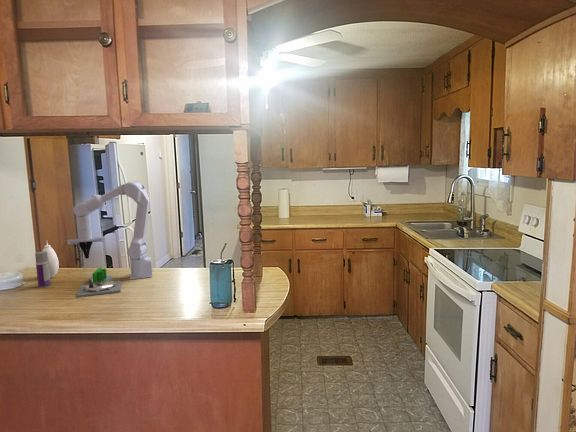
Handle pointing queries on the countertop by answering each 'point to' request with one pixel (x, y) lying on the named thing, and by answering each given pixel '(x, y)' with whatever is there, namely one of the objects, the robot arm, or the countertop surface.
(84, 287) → the sprocket
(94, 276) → the pipe clamp
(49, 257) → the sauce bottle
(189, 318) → the countertop surface
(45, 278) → the container
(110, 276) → the mat
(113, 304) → the countertop surface
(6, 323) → the countertop surface
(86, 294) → the mount plate
